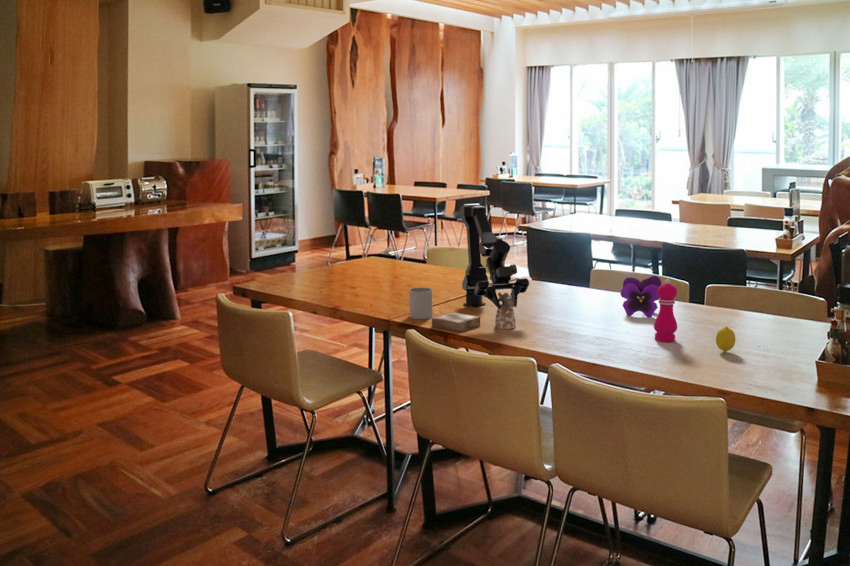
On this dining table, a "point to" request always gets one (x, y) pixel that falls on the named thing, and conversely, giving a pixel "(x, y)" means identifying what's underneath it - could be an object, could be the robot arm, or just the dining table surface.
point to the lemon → (725, 339)
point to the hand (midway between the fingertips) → (507, 307)
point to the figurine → (505, 312)
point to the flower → (640, 295)
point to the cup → (420, 303)
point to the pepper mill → (666, 313)
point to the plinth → (455, 321)
